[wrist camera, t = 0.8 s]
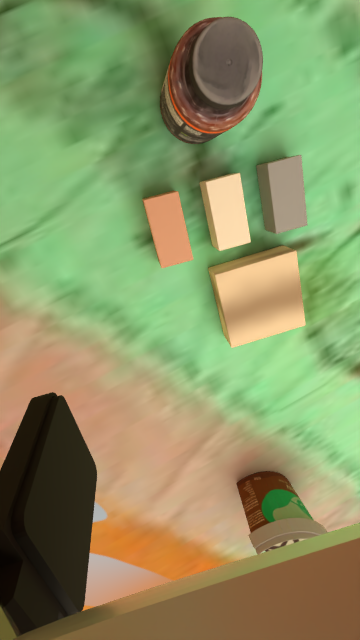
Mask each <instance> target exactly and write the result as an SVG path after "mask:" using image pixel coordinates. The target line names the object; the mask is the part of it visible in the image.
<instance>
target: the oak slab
mask: <svg viewBox="0 0 360 640" xmlns="http://www.w3.org/2000/svg"><path fill="white" fill-rule="evenodd" d="M208 270H209V274H210V278H211V282H212V286H213V291H214V295H215V299H216V303H217V307H218V312H219V316H220V320H221V324H222V329H223V333H224V336H225V338H226V339H227V341H228V343H229V344H230V346H231V347H232V348H233V347H236V346H240V345H243V344H246V343H249V342H253V341H256V340H259V339H262V338H266V337H269V336H272V335H275V334H279V333H282V332H285V331H288V330H291V329H295V328H298V327H301V326H304V325H305V317H304V309H303V301H302V293H301V285H300V277H299V269H298V261H297V252H296V250H293V249H291V248H288V247H286V246H283V245H282V246H279V247H275V248H272V249H269V250H265V251H262V252H259V253H255V254H252V255H249V256H246V257H242V258H239V259H236V260H232V261H229V262H226V263H222V264H219V265H216V266H212V267H209V268H208Z"/></svg>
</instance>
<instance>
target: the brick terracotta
mask: <svg viewBox="0 0 360 640" xmlns="http://www.w3.org/2000/svg"><path fill="white" fill-rule="evenodd" d="M143 203H144V207H145V211H146V214H147V218H148V222H149V226H150V229H151V233H152V237H153V241H154V244H155V248H156V252H157V256H158V259H159V263H160V265H161V268H164V267H168V266H172V265H176V264H179V263H183V262H187V261H190V260H193V256H192V251H191V247H190V243H189V238H188V234H187V229H186V225H185V220H184V216H183V211H182V207H181V202H180V198H179V193H178V191H171V192H167V193H163V194H159V195H155V196H151V197H148V198H144V199H143Z"/></svg>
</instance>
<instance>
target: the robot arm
mask: <svg viewBox="0 0 360 640" xmlns="http://www.w3.org/2000/svg"><path fill="white" fill-rule="evenodd" d="M96 481H97V470H96V465H95V462H94V460H93V458H92V456H91V454H90V452H89V449H88V447H87V445H86V443H85V441H84V439H83V437H82V434H81V432H80V430H79V428H78V426H77V424H76V422H75V419H74V417H73V415H72V413H71V411H70V409H69V406H68V404H67V402H66V400H65V398H64V397H63V396H62V395H60V396H57V395H56V394H55V393H53V392H52V393H49V394H45V395H41V396H38V397H34V398H32V399H31V401H30V403H29V405H28V408H27V410H26V412H25V415H24V417H23V419H22V422H21V424H20V426H19V429H18V431H17V433H16V436H15V438H14V440H13V443H12V445H11V447H10V450H9V452H8V454H7V457H6V459H5V461H4V463H3V465H2V468H1V470H0V640H360V523H357V524H354V525H351V526H348V527H344V528H341V529H338V530H335V531H331V532H328V533H325V534H322V535H319V536H315V537H312V538H309V539H306V540H302V541H299V542H296V543H293V544H290V545H286V546H283V547H280V548H277V549H274V550H270V551H267V552H264V553H261V554H258V555H255V556H251V557H248V558H245V559H242V560H239V561H236V562H232V563H229V564H226V565H223V566H220V567H217V568H213V569H210V570H207V571H204V572H201V573H198V574H194V575H191V576H188V577H185V578H182V579H178V580H175V581H172V582H169V583H166V584H163V585H160V586H157V587H153V588H150V589H148V590H144V591H141V592H138V593H135V594H132V595H130V596H126V597H123V598H120V599H118V600H115V601H112V602H109V603H106V604H103V605H100V606H97V607H94V608H91V609H88V610H85V611H82V610H83V607H84V601H85V592H86V581H87V572H88V562H89V552H90V542H91V532H92V522H93V511H94V501H95V491H96ZM81 611H82V612H81ZM78 612H79V613H78Z"/></svg>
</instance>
